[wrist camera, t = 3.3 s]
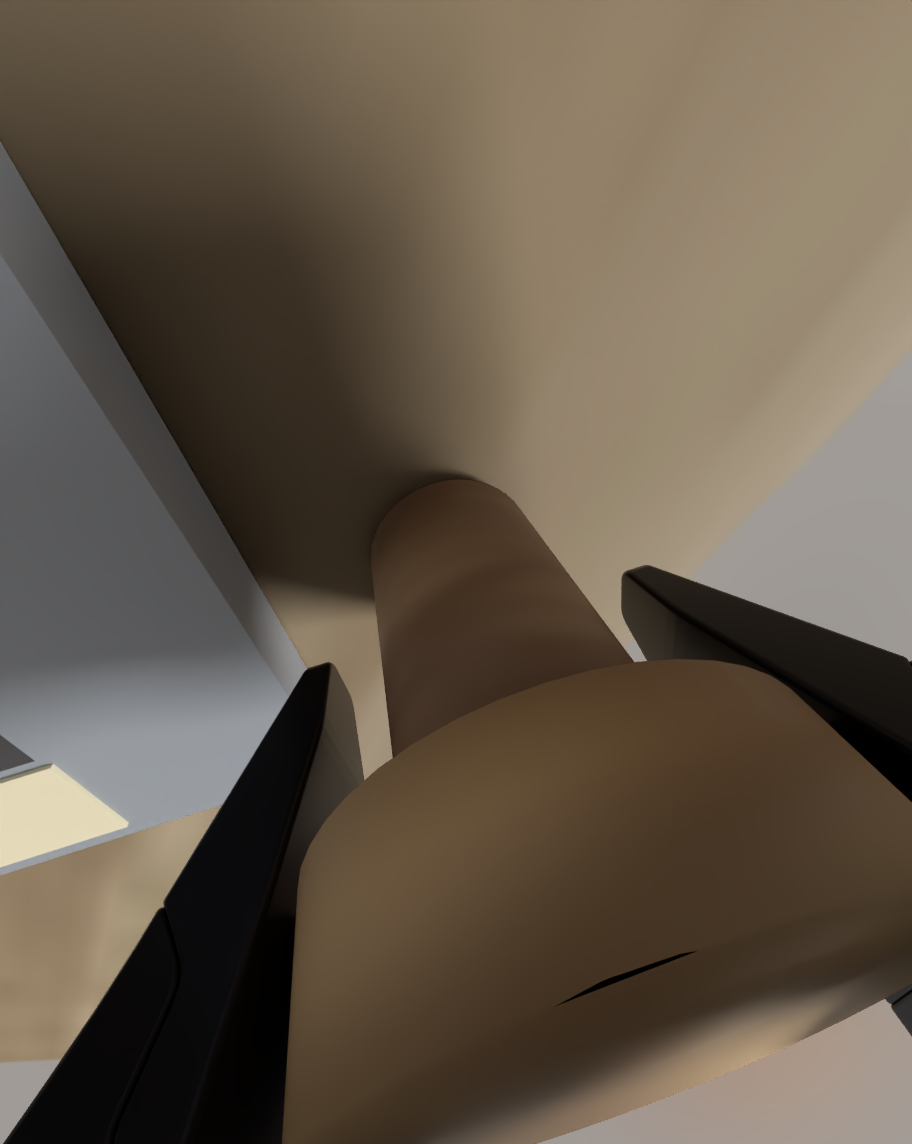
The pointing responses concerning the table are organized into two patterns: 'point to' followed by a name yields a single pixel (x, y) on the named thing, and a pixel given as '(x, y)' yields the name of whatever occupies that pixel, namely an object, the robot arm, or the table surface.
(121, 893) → the table surface
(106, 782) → the keyhole board
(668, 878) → the peg
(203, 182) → the table surface
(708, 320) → the table surface
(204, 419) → the table surface
